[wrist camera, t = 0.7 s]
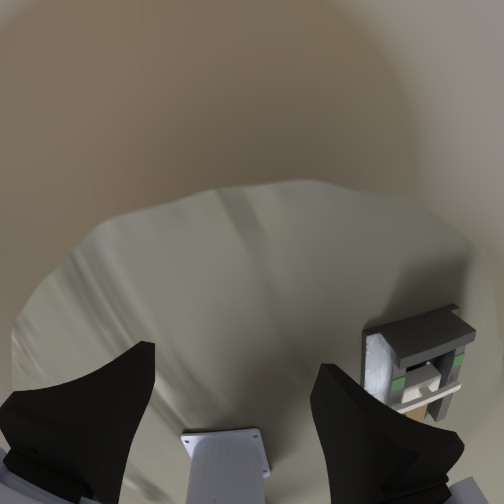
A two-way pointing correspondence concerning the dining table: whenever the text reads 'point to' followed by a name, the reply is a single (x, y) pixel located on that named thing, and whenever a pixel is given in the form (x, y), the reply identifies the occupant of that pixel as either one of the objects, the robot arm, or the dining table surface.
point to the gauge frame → (414, 354)
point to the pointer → (423, 388)
